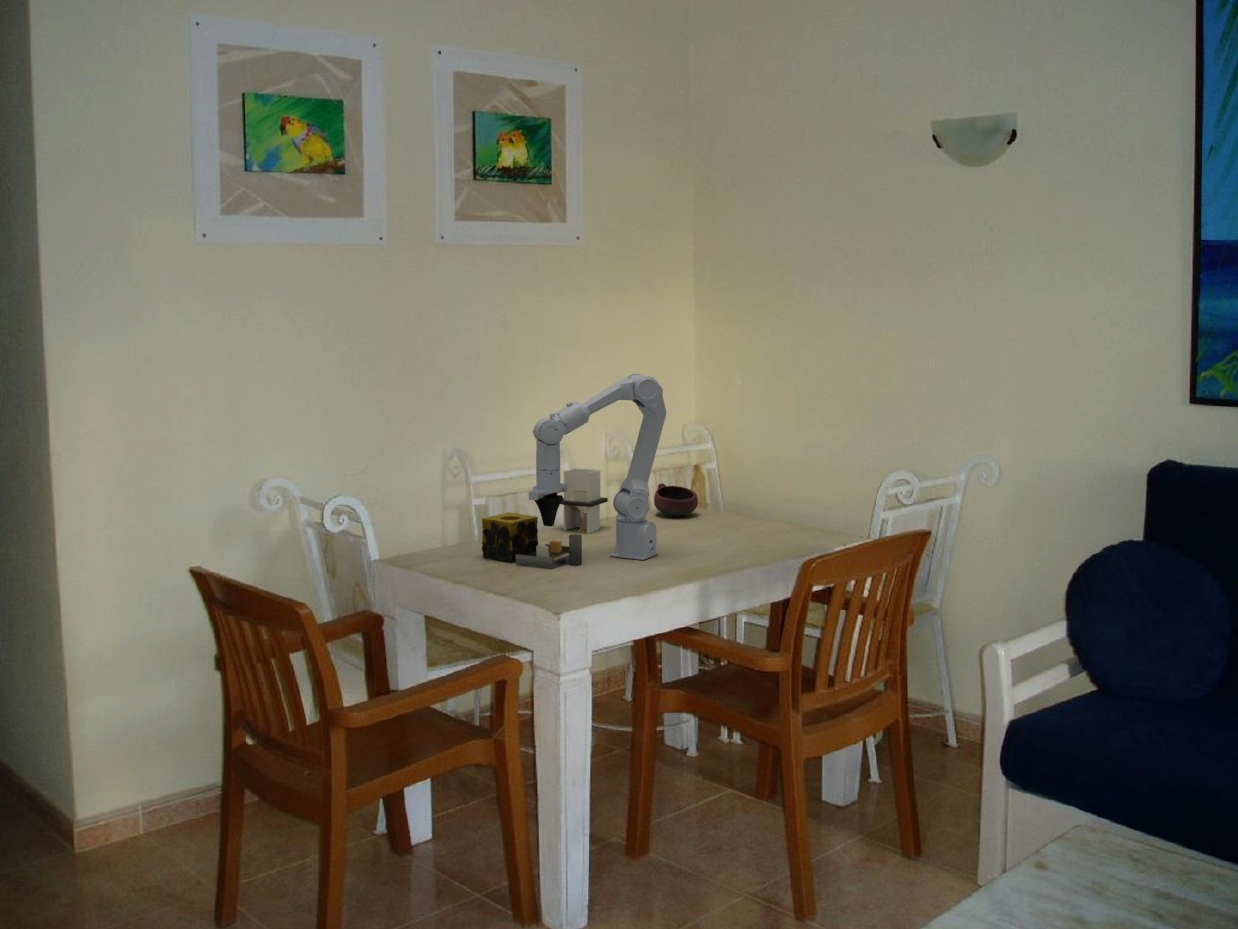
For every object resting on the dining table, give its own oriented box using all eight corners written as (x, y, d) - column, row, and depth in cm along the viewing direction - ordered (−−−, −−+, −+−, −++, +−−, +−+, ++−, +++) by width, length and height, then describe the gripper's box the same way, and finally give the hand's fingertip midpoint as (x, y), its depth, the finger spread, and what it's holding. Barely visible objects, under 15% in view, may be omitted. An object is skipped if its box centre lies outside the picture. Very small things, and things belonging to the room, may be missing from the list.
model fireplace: (518, 535, 341) (518, 473, 338) (562, 519, 362) (561, 462, 360) (603, 543, 330) (602, 480, 327) (642, 527, 351) (642, 467, 349)
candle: (510, 551, 319) (509, 511, 318) (540, 556, 313) (539, 516, 311) (480, 558, 311) (480, 517, 310) (511, 563, 305) (510, 522, 304)
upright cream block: (548, 556, 304) (548, 545, 304) (545, 557, 303) (545, 547, 302) (540, 555, 305) (539, 544, 305) (536, 556, 304) (536, 546, 304)
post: (584, 563, 304) (584, 534, 303) (577, 566, 302) (577, 537, 301) (573, 562, 306) (573, 533, 305) (566, 565, 303) (566, 535, 302)
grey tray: (581, 557, 311) (581, 547, 310) (552, 569, 299) (552, 558, 298) (546, 553, 315) (546, 543, 315) (515, 564, 303) (515, 554, 303)
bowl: (707, 515, 368) (707, 487, 366) (680, 521, 358) (680, 493, 357) (662, 509, 378) (662, 482, 376) (635, 515, 368) (635, 487, 367)
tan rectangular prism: (561, 551, 310) (561, 541, 309) (558, 552, 308) (558, 542, 308) (553, 550, 311) (552, 540, 310) (549, 551, 309) (549, 541, 309)
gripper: (549, 464, 312) (549, 519, 314) (517, 472, 299) (518, 529, 301) (574, 466, 309) (575, 521, 311) (543, 474, 296) (543, 532, 298)
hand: (548, 525), depth 306 cm, fingers closed
